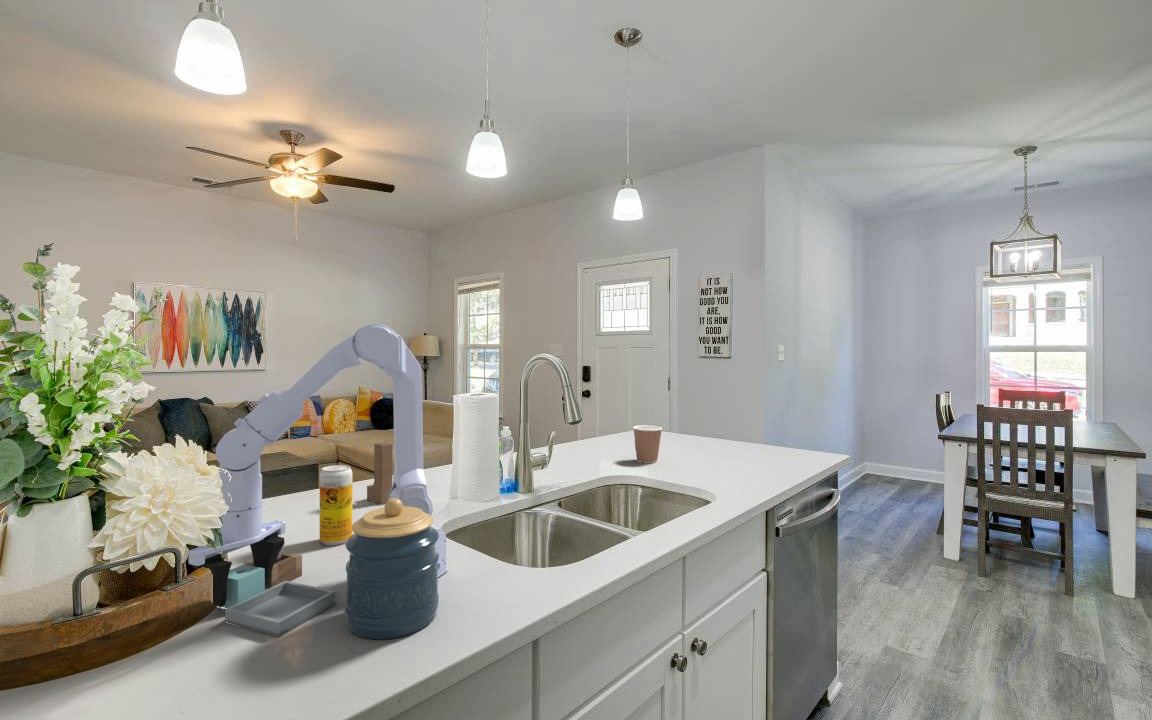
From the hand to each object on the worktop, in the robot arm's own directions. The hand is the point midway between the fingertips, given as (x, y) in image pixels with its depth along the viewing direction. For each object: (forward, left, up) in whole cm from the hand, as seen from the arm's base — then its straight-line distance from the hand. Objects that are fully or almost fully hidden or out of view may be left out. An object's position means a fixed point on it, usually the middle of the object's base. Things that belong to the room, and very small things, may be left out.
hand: (240, 594), depth 83 cm
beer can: (+6, -26, -2) cm, 27 cm away
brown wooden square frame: (+2, -8, -1) cm, 8 cm away
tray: (-9, 0, -1) cm, 9 cm away
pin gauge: (+2, -8, -1) cm, 8 cm away
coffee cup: (-36, -127, -2) cm, 132 cm away
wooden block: (+17, -52, -2) cm, 55 cm away
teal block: (0, 0, -2) cm, 2 cm away
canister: (-25, -5, -2) cm, 25 cm away
